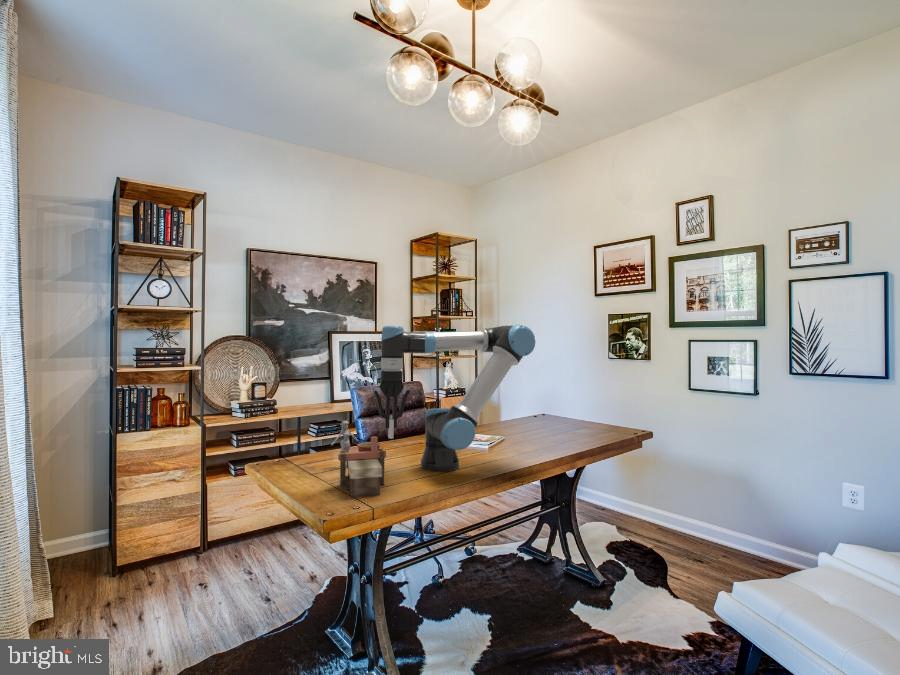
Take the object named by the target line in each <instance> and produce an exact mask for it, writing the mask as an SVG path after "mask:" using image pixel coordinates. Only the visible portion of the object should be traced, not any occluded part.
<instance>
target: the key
mask: <svg viewBox="0 0 900 675" xmlns="http://www.w3.org/2000/svg"><path fill="white" fill-rule="evenodd" d="M370 442H371V451H365V452H359V451H353V452H352V451H351V452H350V451H349V452H348V453H340V452H338V454H337V456H338V457H337V459H338V461H340V460H341V454H346V460H354V459H369V458H380V451H377V450H378V443H379V442H378V436H370ZM382 451H384V452H385V458H387V450H385V449H383V450H382Z"/></svg>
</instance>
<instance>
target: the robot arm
mask: <svg viewBox="0 0 900 675" xmlns="http://www.w3.org/2000/svg"><path fill="white" fill-rule="evenodd" d="M535 337H536V336H535V333H534V332H533V331H532V330H531V328H529V327H528V326H526V325H523V324H515V325H514V324H513V325H501V326H496V327H487V328H480V329H479V331H478V330H477V331H476V330H473V331H470V330H469V331H467V330H466V331H430V332H429V331H427V332H421V331H420V332H419V331H418V332H417V331H414V332H413V331H409V332H408V331H405V330H404V327H403V326H401V325H385V326H383V327H382V329H381V338H380V339H381V358H380V359H381V360H380V369H382V370H381V371H380V384H379V386H378V388H376V389H373V391H372V393H373V395H374V396H375V399H376V403H377V408H378V412H379V413H378V414H379V416H380V418H381V419H384V421H385V423H384V427H385V429H387V438H388V439H392V440H393V439H394V432H395V431H394V429H397V427H398V426H397V425H398V424H397V421H398V419H399V418H402V417H403V414H404V410H405V408H406V407H405V406H406V403H407V398H408V396H409V394H410V392H411V391H410V389H408V388H405V386H404V383H403V379H404V378H403V377H404V376H403V373H404V372H403V368H404V354H425V355H426V354H434V353H435V352H449V351H451V352H452V351H454V352H455V351H456V352H457V351H477V350H478V351H480V352H481V353H492V354H491V356H490V357H489V359H488V361H487V362H486V363H485V364H484V366H483V368H482V369H481V371H480V372H479V374H477V377H475V380H474V381H473V382H472V384H471V385H470V387H469V388H468V389H467V391H466V393H465V394H464V395H463V396H462V398H461V400H460V401H459V403H458V404H454V405H452V406H451V407H447V408H446V407H445V408H444V407H441V408H428V409H427V410H426V411H425V417H424V419H425V431H424V432H425V437H424V438H425V441H424V442H425V443H424V445H425V446H424V447H425V448H424V450H423V453H422V456H421V460H420V468H421V469H422V470H425V471H428V472H436V473H437V472H439V473H442V472H443V473H444V472H452V471H455V470H458V469H459V468H460V460H459V457H458V453H457V451H460V450H464V449H467V448H468V447H470V445H472V443H473V442H474V440H475V438H476V428H477V426H478V425H479V419H478V418H479V416H480V414H481V413H482V411H483V410H484V408H485V407H486V406H487V404H488V402H489V401H490V400H491V398H492V397H493V394H495V392H496V391H497V389H498V388H499V386H500V384H501V383H502V381H504V380H503V379H505V377H506V375H507V374H508V372H509V371H510V369H511V368H512V367H513V366H518V364H519V363H520V362H521V361H522V359H523V358H524V357H526V356H528V355H530V354H531V353H532V352H533V351H534V349H535V347H536V339H535ZM381 392H382V394H383V395H384V397H385V398H384V399H385V400H384V402H385V404H384V406H385V408H383V403H382V399H381V396H380V395H381ZM401 393H402V396H401V399H400V403H399V407H398V397H399V396H400V395H401ZM391 397H392V416H390V415H391V414H390V412H391ZM384 411H385V412H384ZM390 417H392V418H390Z"/></svg>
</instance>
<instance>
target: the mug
mask: <svg viewBox="0 0 900 675" xmlns="http://www.w3.org/2000/svg"><path fill="white" fill-rule="evenodd" d="M356 445H357V446H356V448H357V450H358V452H365V451H371V441H365V442H360V443H357V444H356ZM378 449H381V443H380V442H378ZM377 451H378V450H377ZM377 459H378V458H377Z"/></svg>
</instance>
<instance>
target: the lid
mask: <svg viewBox="0 0 900 675" xmlns="http://www.w3.org/2000/svg"><path fill="white" fill-rule="evenodd" d="M346 470H347V474H348V473H349V476H350V479H359V478H372V477H382V466H381V464H380V463H379V461H378V459H377V458H369V459H354V460H347V467H346Z"/></svg>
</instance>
